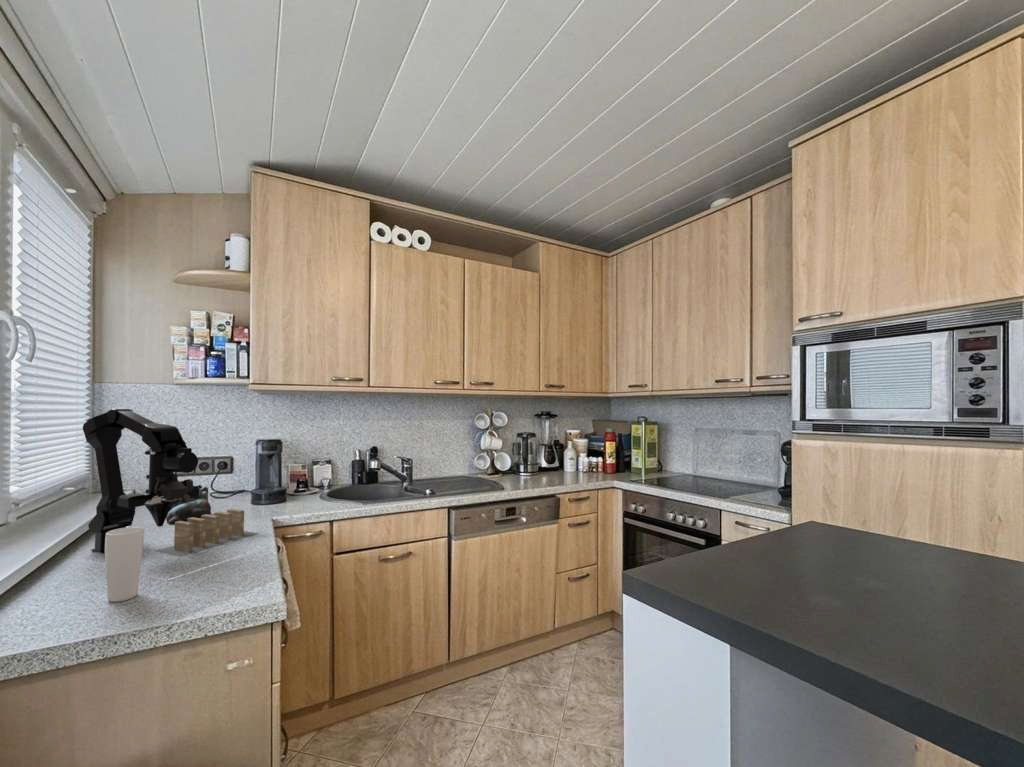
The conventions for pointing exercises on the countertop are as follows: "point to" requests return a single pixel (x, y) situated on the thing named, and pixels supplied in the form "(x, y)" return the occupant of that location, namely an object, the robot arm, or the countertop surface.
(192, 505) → the lucky cat figurine
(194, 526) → the domino
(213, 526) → the domino
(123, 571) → the beige tall tapered piece
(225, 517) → the wooden block
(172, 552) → the slate mat
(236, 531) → the domino
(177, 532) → the domino
